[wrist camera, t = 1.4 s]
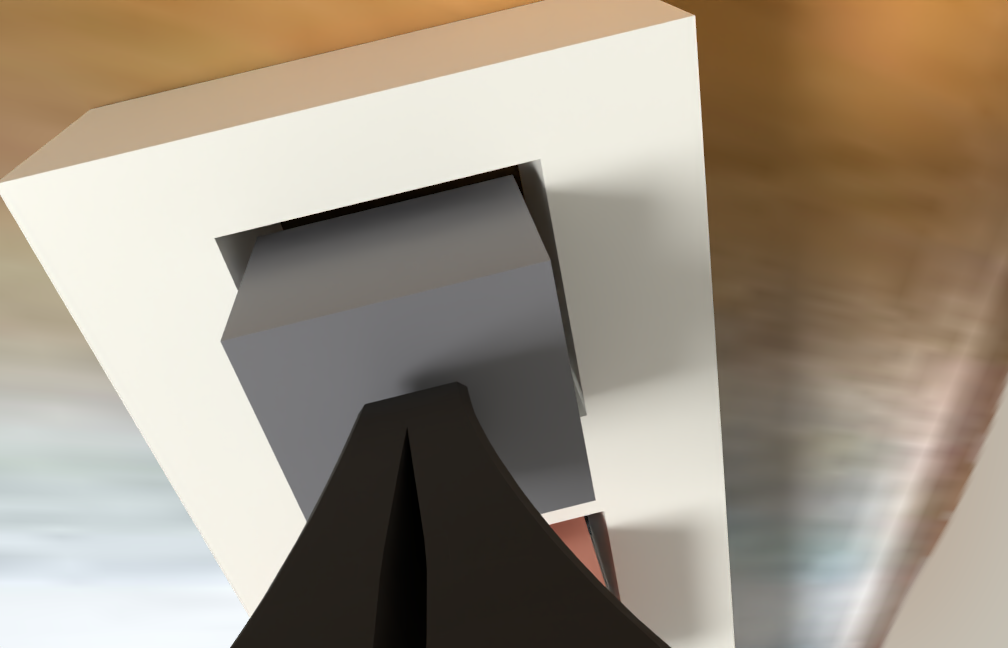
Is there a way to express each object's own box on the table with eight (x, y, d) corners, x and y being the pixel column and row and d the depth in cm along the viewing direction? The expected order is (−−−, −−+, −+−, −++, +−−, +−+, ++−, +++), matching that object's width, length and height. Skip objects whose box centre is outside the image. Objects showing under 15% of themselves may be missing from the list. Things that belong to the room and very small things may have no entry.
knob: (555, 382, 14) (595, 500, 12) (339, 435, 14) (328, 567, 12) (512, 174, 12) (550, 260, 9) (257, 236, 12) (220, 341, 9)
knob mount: (697, 696, 26) (745, 820, 23) (414, 769, 26) (419, 904, 22) (619, -18, 14) (694, 15, 11) (90, 109, 14) (-6, 184, 10)
